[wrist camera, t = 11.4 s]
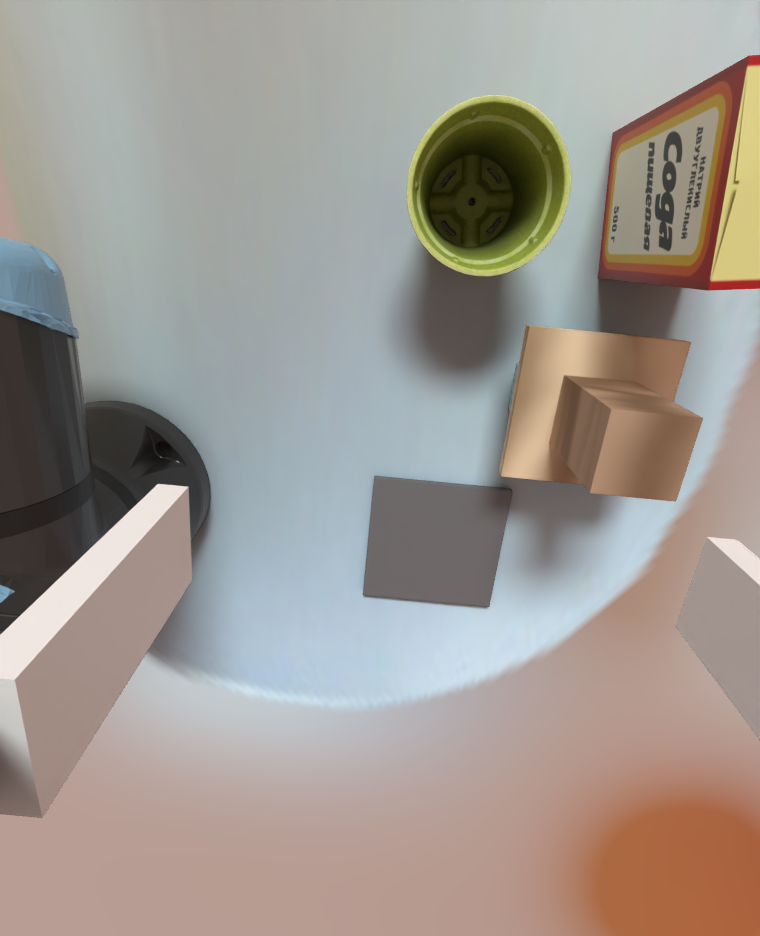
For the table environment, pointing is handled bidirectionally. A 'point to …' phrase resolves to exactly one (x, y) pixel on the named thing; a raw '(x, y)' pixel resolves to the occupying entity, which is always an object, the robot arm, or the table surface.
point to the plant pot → (489, 185)
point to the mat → (434, 540)
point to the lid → (600, 413)
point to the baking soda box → (689, 189)
